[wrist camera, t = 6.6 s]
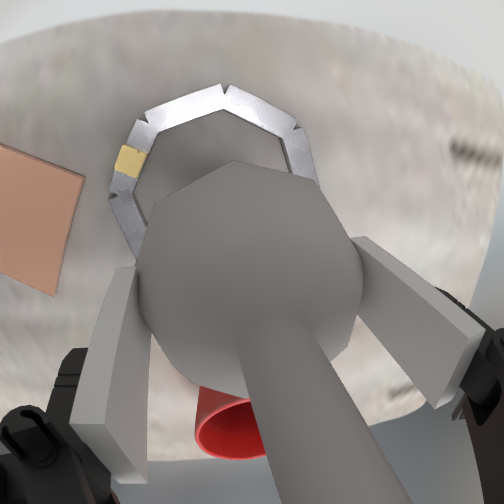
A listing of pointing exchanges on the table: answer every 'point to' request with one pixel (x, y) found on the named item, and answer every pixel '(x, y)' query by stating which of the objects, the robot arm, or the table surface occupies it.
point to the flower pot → (227, 426)
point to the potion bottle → (267, 322)
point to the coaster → (35, 218)
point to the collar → (181, 112)
